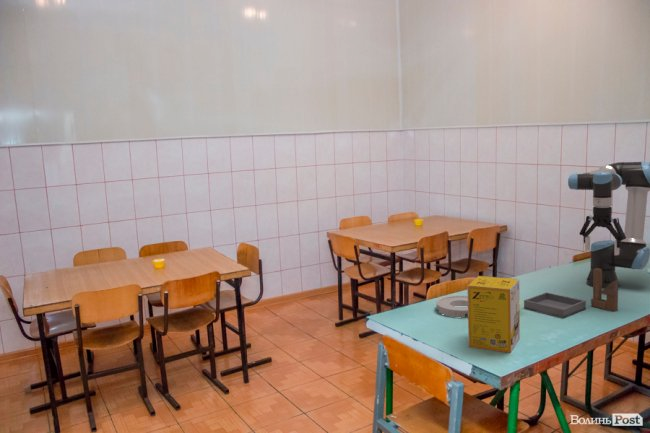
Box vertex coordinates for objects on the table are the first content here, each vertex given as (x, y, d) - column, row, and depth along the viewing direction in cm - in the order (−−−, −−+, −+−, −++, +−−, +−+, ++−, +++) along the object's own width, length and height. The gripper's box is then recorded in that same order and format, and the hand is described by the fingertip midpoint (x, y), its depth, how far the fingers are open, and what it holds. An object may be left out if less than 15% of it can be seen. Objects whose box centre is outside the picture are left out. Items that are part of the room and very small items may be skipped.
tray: (546, 300, 270) (546, 292, 269) (585, 309, 254) (585, 300, 253) (524, 308, 260) (524, 300, 259) (563, 318, 244) (563, 309, 243)
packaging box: (479, 333, 232) (478, 275, 229) (519, 338, 224) (519, 278, 220) (468, 346, 218) (467, 285, 215) (510, 353, 210) (510, 289, 206)
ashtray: (472, 322, 247) (471, 313, 246) (427, 313, 262) (427, 305, 262) (495, 308, 263) (495, 300, 263) (452, 300, 279) (452, 293, 278)
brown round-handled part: (613, 311, 248) (614, 273, 246) (590, 306, 257) (591, 269, 255) (618, 310, 250) (618, 271, 248) (595, 304, 259) (595, 267, 257)
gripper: (571, 205, 255) (571, 250, 258) (626, 209, 234) (625, 258, 238) (580, 203, 259) (580, 247, 262) (635, 207, 239) (634, 255, 242)
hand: (601, 252), depth 250 cm, fingers open, 13 cm apart
